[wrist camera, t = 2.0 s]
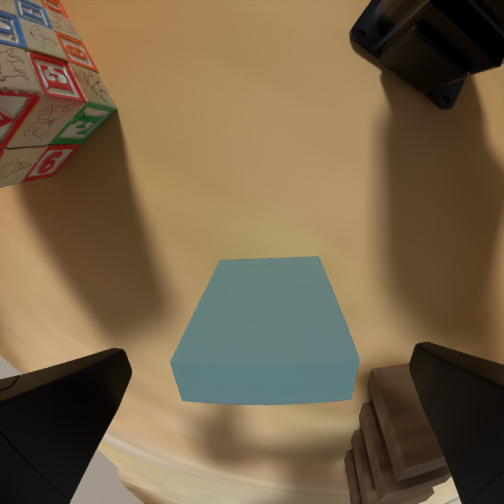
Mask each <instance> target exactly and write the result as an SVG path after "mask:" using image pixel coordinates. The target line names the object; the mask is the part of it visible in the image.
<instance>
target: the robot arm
mask: <svg viewBox="0 0 504 504" xmlns="http://www.w3.org/2000/svg"><path fill="white" fill-rule="evenodd" d="M356 32H360V33H361V34H362V35H363V37H359V36H358V35H357V34H356ZM349 35H350V38H351V39H352V40H353V41H354V42H355V43H357V44H358V45H360V46H362V47H363V48H365V49H366V50H368V51H369V52H371V53H372V54H374V55H375V56H377V57H378V58H379V59H381V61H382V63H383V64H384V65H386V66H387V67H389V68H390V69H391V70H393V71H394V72H395V73H396V74H398V75H399V76H400V77H402V78H403V79H404V80H405V81H407V82H408V83H409V84H410V85H412V86H413V87H414V88H415V89H416V90H418V91H419V92H423V93H424V94H425V95H426V96H427V97H429V98H430V99H431V100H432V101H433V102H434V103H435V104H436V105H437V106H438V107H439V108H441V109H442V110H448V109H451V108H452V107H453V105H454V103H455V101H456V99H457V96H458V94H459V92H460V90H461V87H462V85H463V83H464V80H465V79H466V78H467V77H468V76H471V75H474V74H477V73H480V72H484V71H487V70H491V69H494V68H498V67H500V66H501V64H504V0H371V2H370V3H369V5H368V6H367V7H366V9H365V10H364V12H363V13H362V14H361V16H360V17H359V19H358V20H357V21H356V23H355V24H354V26H353V27H352V29H351V30H350V33H349ZM443 97H444V98H445V100H446V104H445V103H444V102H443ZM409 372H410V375H411V378H412V380H413V383H414V386H415V389H416V392H417V395H418V398H419V401H420V404H421V406H422V408H423V411H424V413H425V415H426V417H427V419H428V421H429V424H430V426H431V428H432V430H433V432H434V435H435V437H436V439H437V441H438V444H439V446H440V448H441V451H442V453H443V456H444V458H445V460H446V463H447V465H448V468H449V471H450V473H451V476H452V478H453V481H454V484H455V486H456V489H457V492H458V495H459V497H460V500H461V503H462V504H504V365H503V364H499V363H496V362H492V361H489V360H486V359H482V358H479V357H476V356H472V355H469V354H466V353H462V352H459V351H456V350H453V349H449V348H446V347H443V346H440V345H437V344H433V343H430V342H422V343H417V344H416V345H415V347H414V350H413V354H412V357H411V360H410V364H409ZM131 376H132V368H131V366H130V363H129V360H128V358H127V355H126V352H125V351H124V350H123V349H118V348H111V349H108V350H105V351H101V352H98V353H95V354H92V355H89V356H85V357H82V358H79V359H75V360H72V361H69V362H65V363H62V364H58V365H55V366H51V367H48V368H44V369H41V370H37V371H33V372H30V373H26V374H22V375H21V376H20V375H17V376H13V377H9V378H4V379H0V504H70V502H71V499H72V497H73V495H74V493H75V491H76V489H77V487H78V485H79V483H80V481H81V479H82V477H83V475H84V473H85V471H86V469H87V467H88V465H89V463H90V461H91V459H92V457H93V455H94V453H95V451H96V450H97V448H98V446H99V444H100V442H101V440H102V438H103V436H104V434H105V432H106V431H107V429H108V427H109V425H110V423H111V421H112V419H113V418H114V416H115V414H116V412H117V410H118V408H119V406H120V403H121V401H122V398H123V396H124V393H125V391H126V389H127V386H128V384H129V381H130V379H131Z"/></svg>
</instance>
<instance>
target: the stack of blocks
mask: <svg viewBox="0 0 504 504" xmlns="http://www.w3.org/2000/svg"><path fill="white" fill-rule="evenodd" d="M116 110H117V107H116V105H115V103H114V101H113V99H112V98H111V96H110V94H109V92H108V91H107V89H106V87H105V85H104V83H103V82H102V80H101V78H100V76H99V74H98V70H97V68H96V66H95V64H94V62H93V61H92V59H91V57H90V55H89V53H88V51H87V49H86V48H85V46H84V44H83V43H82V40H81V38H80V36H79V34H78V32H77V30H76V28H75V26H74V25H73V23H72V21H71V20H70V19H68V16H67V15H66V13H65V11H64V9H63V7H62V5H61V3H60V2H59V1H58V0H0V188H1V187H5V186H9V185H13V184H16V183H19V182H21V183H22V182H28V181H32V180H36V179H41V178H47V177H51V176H53V175H54V174H55V173H56V172H57V171H58V170H59V168H60V167H61V166H62V165H63V164H64V163H65V162H66V160H67V159H68V158H69V157H70V156H71V155H72V154H73V153H74V152H75V150H76V149H77V148H78V147H79V146H80V145H81V143H82V142H83V141H84V140H85V139H86V138H87V137H88V136H89V135H90V134H91V133H92V132H93V131H94V130H95V129H96V128H97V127H99V126H100V125H101V124H102V123H103V122H104V121H105V120H106V119H107V118H108V117H109V116H110V115H112V114H113V113H114V112H115V111H116Z"/></svg>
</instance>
